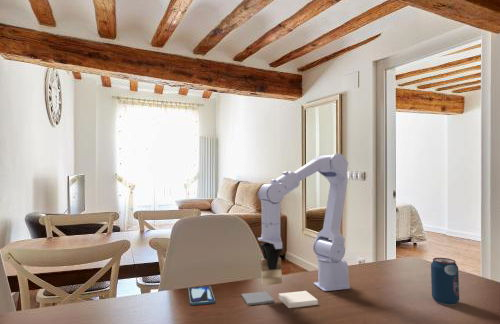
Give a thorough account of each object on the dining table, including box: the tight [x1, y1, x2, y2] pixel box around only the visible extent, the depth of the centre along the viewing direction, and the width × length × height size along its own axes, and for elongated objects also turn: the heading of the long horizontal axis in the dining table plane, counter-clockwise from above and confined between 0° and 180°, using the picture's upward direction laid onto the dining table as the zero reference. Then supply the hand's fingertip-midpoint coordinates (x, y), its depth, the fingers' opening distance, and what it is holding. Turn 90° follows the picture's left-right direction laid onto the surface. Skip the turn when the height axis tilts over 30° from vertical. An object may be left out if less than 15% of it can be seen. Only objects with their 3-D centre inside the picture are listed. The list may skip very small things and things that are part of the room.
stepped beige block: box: [260, 256, 283, 286], centre depth 101 cm, size 6×2×8 cm, turn 105°
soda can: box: [430, 257, 460, 306], centre depth 98 cm, size 7×7×12 cm
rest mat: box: [240, 291, 275, 306], centre depth 101 cm, size 8×8×1 cm
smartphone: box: [187, 285, 216, 306], centre depth 104 cm, size 7×1×15 cm
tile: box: [278, 290, 319, 309], centre depth 99 cm, size 9×2×8 cm
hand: (271, 268), depth 101 cm, fingers closed on stepped beige block, 2 cm apart
